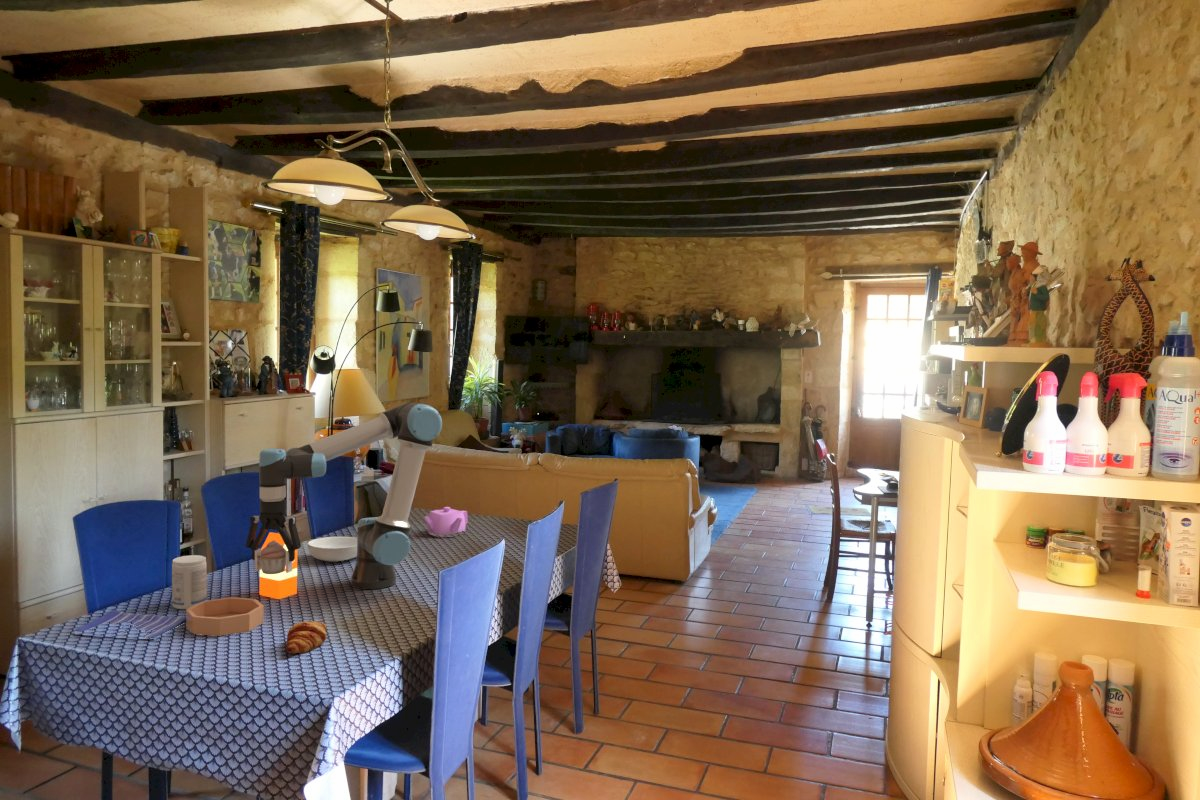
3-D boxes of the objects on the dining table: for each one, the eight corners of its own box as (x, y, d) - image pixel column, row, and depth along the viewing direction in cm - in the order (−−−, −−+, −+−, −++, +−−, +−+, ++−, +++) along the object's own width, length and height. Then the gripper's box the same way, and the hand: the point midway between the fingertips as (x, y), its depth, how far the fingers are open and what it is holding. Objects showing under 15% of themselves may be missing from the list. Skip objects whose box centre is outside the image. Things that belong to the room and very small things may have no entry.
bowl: (272, 616, 244) (273, 600, 244) (238, 638, 225) (238, 620, 225) (212, 612, 246) (213, 595, 246) (173, 633, 227) (174, 615, 227)
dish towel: (112, 617, 239) (112, 608, 239) (189, 622, 238) (190, 613, 238) (70, 637, 222) (70, 627, 222) (153, 643, 221) (153, 632, 220)
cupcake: (278, 576, 246) (278, 544, 246) (251, 574, 248) (250, 542, 247) (295, 568, 255) (295, 537, 255) (269, 566, 257) (268, 535, 256)
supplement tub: (206, 599, 258) (207, 553, 257) (206, 608, 249) (207, 561, 249) (172, 602, 254) (172, 556, 253) (170, 611, 245) (171, 563, 244)
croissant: (312, 643, 234) (300, 617, 234) (343, 628, 233) (331, 603, 233) (279, 669, 212) (266, 641, 212) (313, 653, 212) (300, 626, 212)
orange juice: (277, 589, 272) (278, 530, 271) (297, 593, 268) (298, 533, 267) (258, 594, 265) (259, 534, 264) (278, 599, 261) (279, 537, 260)
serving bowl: (372, 554, 323) (372, 537, 322) (351, 568, 302) (351, 549, 301) (321, 551, 325) (322, 534, 324) (297, 564, 304) (297, 546, 303)
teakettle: (468, 531, 371) (469, 504, 370) (461, 539, 354) (461, 511, 353) (431, 529, 371) (432, 503, 371) (422, 538, 354) (423, 510, 354)
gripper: (312, 498, 253) (313, 569, 254) (245, 495, 255) (246, 566, 256) (301, 502, 245) (302, 575, 247) (232, 500, 248) (233, 572, 249)
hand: (273, 570), depth 252 cm, fingers closed on cupcake, 9 cm apart
